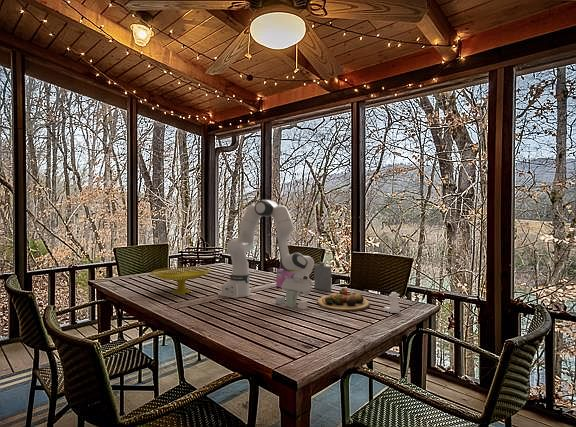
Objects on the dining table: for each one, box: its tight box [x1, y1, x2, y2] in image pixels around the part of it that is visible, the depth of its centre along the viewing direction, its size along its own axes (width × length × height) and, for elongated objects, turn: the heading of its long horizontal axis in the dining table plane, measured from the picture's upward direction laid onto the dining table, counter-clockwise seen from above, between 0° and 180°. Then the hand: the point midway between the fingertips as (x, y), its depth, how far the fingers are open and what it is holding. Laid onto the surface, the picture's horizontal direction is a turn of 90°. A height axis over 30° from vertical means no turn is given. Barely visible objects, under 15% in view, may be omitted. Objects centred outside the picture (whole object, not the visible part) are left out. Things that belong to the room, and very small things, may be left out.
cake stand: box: [150, 265, 211, 295], centre depth 247 cm, size 40×40×15 cm
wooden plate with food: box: [317, 287, 370, 313], centre depth 220 cm, size 32×32×8 cm
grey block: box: [275, 295, 286, 305], centre depth 221 cm, size 4×4×4 cm
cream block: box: [297, 299, 309, 310], centre depth 211 cm, size 4×4×4 cm
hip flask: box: [313, 261, 332, 293], centre depth 259 cm, size 16×4×20 cm, turn 41°
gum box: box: [275, 267, 296, 288], centre depth 273 cm, size 24×8×14 cm, turn 126°
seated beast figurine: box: [382, 291, 401, 314], centre depth 203 cm, size 10×9×12 cm
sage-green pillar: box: [285, 290, 298, 308], centre depth 216 cm, size 4×4×8 cm
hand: (290, 297), depth 215 cm, fingers closed on sage-green pillar, 4 cm apart
